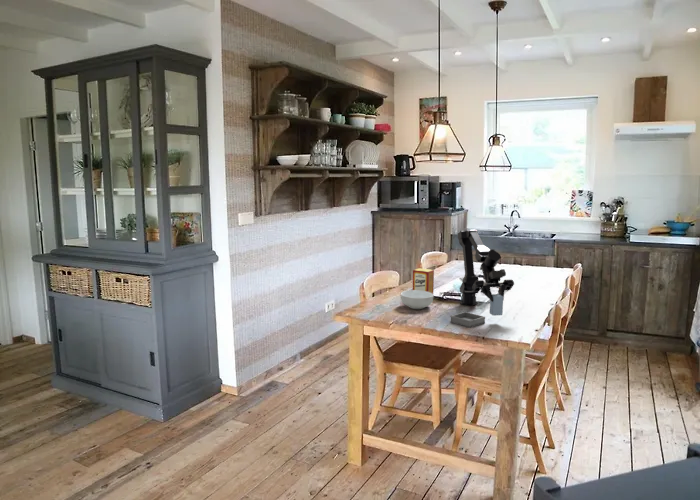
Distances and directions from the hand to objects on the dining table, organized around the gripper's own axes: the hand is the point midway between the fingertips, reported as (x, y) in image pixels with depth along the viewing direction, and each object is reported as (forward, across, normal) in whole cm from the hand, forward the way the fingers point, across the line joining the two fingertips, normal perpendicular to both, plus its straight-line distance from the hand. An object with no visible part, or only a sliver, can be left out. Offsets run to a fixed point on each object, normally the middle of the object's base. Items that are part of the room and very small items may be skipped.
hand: (497, 301), depth 243 cm
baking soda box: (-29, -20, +45) cm, 57 cm away
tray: (+5, -13, +10) cm, 17 cm away
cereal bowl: (-16, -29, +32) cm, 46 cm away
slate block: (+4, 0, +6) cm, 7 cm away
